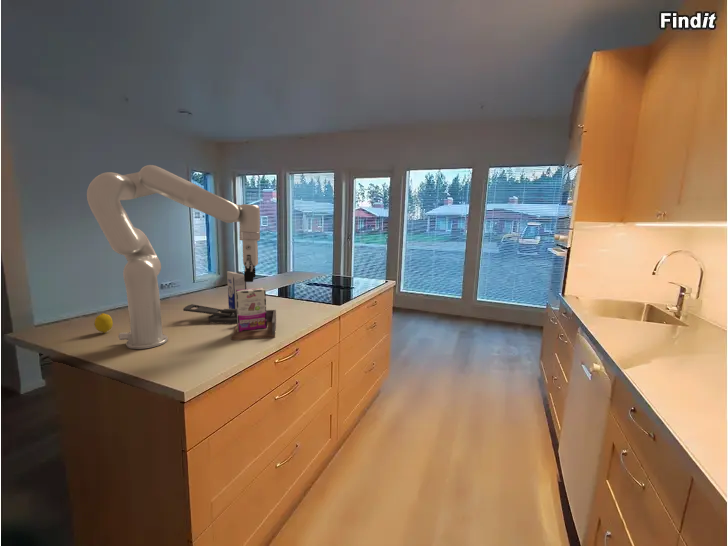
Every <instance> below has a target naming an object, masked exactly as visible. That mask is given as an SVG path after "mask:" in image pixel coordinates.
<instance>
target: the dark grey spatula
mask: <svg viewBox="0 0 728 546" xmlns="http://www.w3.org/2000/svg"><path fill="white" fill-rule="evenodd" d="M182 310H183V312H190V313H199V314H209V316H208V321H209V323H210V324H228V325H234V324H236V325H237V309H229V308H223V309H221V308H216V307H210V306H203V305H198V304H193V303H191V304H188V305H186V306H184V307H183V309H182Z"/></svg>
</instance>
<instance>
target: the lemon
mask: <svg viewBox="0 0 728 546" xmlns="http://www.w3.org/2000/svg"><path fill="white" fill-rule="evenodd" d="M113 324H114V323H113V319H112V317H111V315H109V314H108V313H107V314H106V313H100V314H99V315H98V316H96V317H95V320H94V327H95V329H96V330H97V332H101V333H103V334H105V332H106V333H107V332H108V331H110V330H111V329H112V328H113V326H114V325H113Z"/></svg>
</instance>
